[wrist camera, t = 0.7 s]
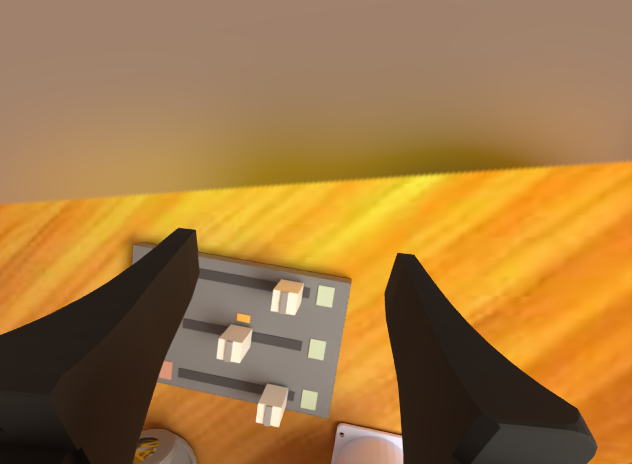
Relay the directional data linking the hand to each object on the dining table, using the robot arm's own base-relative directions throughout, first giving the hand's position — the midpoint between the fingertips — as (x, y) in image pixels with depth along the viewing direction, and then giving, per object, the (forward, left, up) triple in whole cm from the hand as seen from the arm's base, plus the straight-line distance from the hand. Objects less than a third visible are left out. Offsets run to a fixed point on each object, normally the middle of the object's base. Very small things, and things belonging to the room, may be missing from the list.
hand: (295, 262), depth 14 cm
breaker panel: (-12, +8, -20) cm, 25 cm away
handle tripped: (-12, +7, -18) cm, 23 cm away
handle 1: (-7, +3, -18) cm, 20 cm away
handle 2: (-17, +3, -18) cm, 25 cm away
